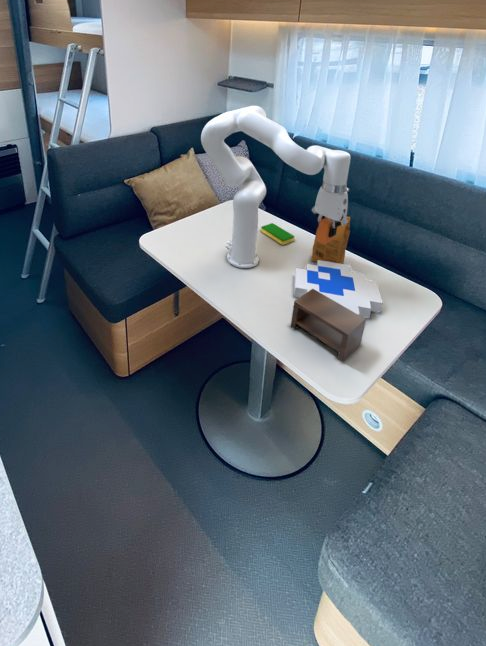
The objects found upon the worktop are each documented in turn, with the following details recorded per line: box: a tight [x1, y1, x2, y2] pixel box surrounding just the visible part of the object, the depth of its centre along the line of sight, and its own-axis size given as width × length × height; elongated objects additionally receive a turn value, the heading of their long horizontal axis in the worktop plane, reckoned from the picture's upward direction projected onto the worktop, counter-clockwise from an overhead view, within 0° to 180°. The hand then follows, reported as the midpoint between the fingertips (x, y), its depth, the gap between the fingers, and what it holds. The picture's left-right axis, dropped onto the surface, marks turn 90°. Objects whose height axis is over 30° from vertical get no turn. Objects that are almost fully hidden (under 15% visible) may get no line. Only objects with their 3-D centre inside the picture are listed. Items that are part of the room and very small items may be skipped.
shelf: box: [290, 289, 367, 363], centre depth 124 cm, size 18×10×10 cm, turn 40°
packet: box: [317, 217, 335, 244], centre depth 144 cm, size 4×6×8 cm, turn 130°
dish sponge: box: [260, 222, 295, 246], centre depth 182 cm, size 7×14×2 cm, turn 32°
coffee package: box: [311, 216, 351, 264], centre depth 160 cm, size 10×12×22 cm
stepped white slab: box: [293, 260, 383, 319], centre depth 144 cm, size 28×4×28 cm
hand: (326, 233), depth 145 cm, fingers closed on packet, 3 cm apart
